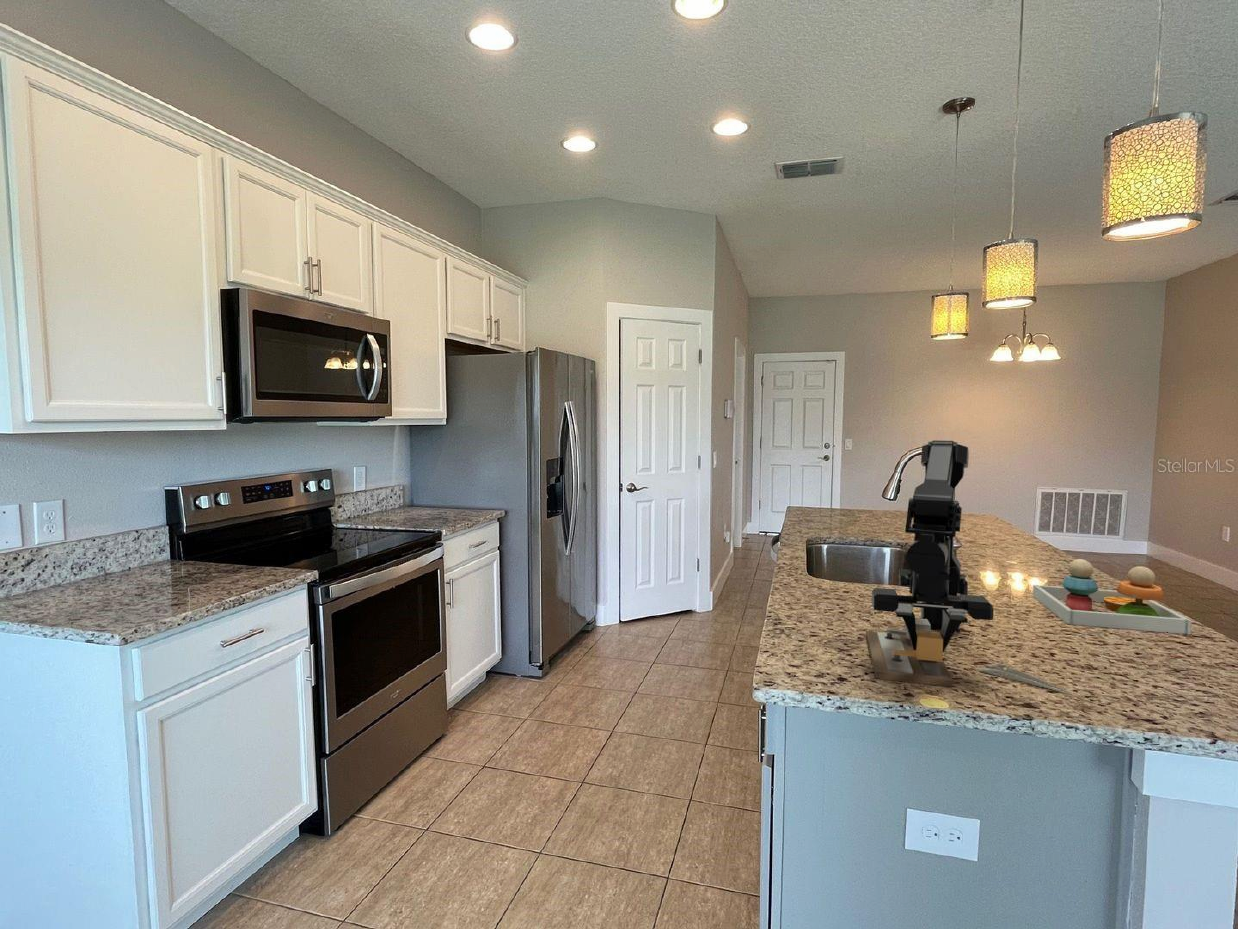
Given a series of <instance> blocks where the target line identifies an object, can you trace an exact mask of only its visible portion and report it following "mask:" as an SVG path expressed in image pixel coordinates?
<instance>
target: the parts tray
mask: <svg viewBox="0 0 1238 929" xmlns="http://www.w3.org/2000/svg"><path fill="white" fill-rule="evenodd" d="M1032 587H1033V589H1032V597H1033V598H1034V599H1035V600H1036V601H1038V602H1039V603H1040V604H1042V605H1043V606H1044V607H1045V608H1047V609H1048V610H1049V611H1051V612H1052V613H1053V614H1054V615H1056V616H1057V617H1058V619H1060V620H1061V621H1063V622H1064V623H1065V624H1067V625H1073V626H1074V625H1075V626H1087V627H1097V628H1110V629H1120V630H1121V629H1122V630H1132V631H1133V630H1134V631H1146V632H1157V633H1165V634H1166V633H1167V632H1168V633H1170V634H1178V635H1179V634H1181V635H1191V631H1192V620H1191V619H1189V618H1187V617H1185V616H1184V615H1181V614H1180V613H1179V612H1178V613H1177V612H1176V611H1174V610H1172V609H1170V608H1169V607H1167V606H1164V605H1163V604H1161V603H1158V602H1156V600H1143V602H1144V603H1146V604H1148V605H1149V606H1150V607H1152V608H1153V609H1154V610H1155V611H1156V612H1157V613H1158V614H1159V616H1160V617H1156V616H1143V615H1131V614H1118V613H1115V612H1106V611H1105V612H1104V611H1093V610H1092V611H1080V610H1071V609H1070V608H1069V607H1067V606H1066V604H1064V603H1063V602H1062V600H1063V601H1066V599H1067V595H1068V594H1069V593H1071V592H1069V591H1067V590H1066V589H1065V588H1064V587H1063V586H1056V585H1055V586H1053V585H1039V584H1038V585H1037V584H1033V586H1032ZM1089 597H1090V598H1092V603H1101V602H1104V599H1103V598H1104V597H1123V598H1130V599H1136V598H1133V597H1129V596H1125V595H1122V594H1120V593H1118V592H1117V590H1114V589H1113V590H1111V589H1099V588H1098V590H1097V591H1096V592H1095V593H1093V594H1090V595H1089ZM1060 600H1061V601H1060ZM1093 601H1095V602H1093Z"/></svg>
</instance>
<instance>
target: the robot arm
mask: <svg viewBox="0 0 1238 929" xmlns="http://www.w3.org/2000/svg"><path fill="white" fill-rule="evenodd" d="M969 452H970V451H969V447H968V446H965V445H962V444H959V443H958V442H957V441H954V440H939V439H938V440H935V439H934V440H931V441H928V443H927V444H923V445H921V454H920V455H921V458H920V464H921V466H922V467H925V468H924V470H925V471H924V473H925V477H924V481H923V482H922V483H921V484H919V485H917V486H916V487H915V488H914V492H913V496H912V497H909V498H908V506H907V512H906V521H905V530H904V531H905V532H904V533H907V534H914V536H913V542H912V544H910V546H909V548H908V550H907V551H906V562H907V566H908V567H909V568H910V569H909V568H908V569H906V568H899V569H898V586H899V587H904V588H909V592H908V593H909V594H910V595H904V594H898V593H897V591H896V588H895V589H893V588H882V587H875V588H873V589H872V590H871V600H870V601H871V604H872V605H871V606H872V607H873V610H875V611H877V612H890V613H893V612H894V613H895V616H896V617H897V618H902V619H903V621H904V625H905V624H906V627H907V630H908V633H909V637H910V640H911V643H912V647H913V649H914V650H916V645H917V638H916V623H915V618H916V615H915V613H914V611H913V610H914V609H913V608H920V610H921V614H920V616H921V617H920V619H927V620H928V621H929V623H930V625H931V630H935V631H936V630H937V631H940V635H941V637H942V638H943V653H944V652H945V651H946V648H947V647H948V644H949V643H950V640H951V639H952V637H953V636H954V634H955V633H956V632H957V633H959V632H961V628H960V626H961V625H962V624H967V623H968V622H969V619H968V618H967V616H966V615H967V614H968V615H969V616H970V617H971V619H973V620H984V621H993V620H994V610H995V609H994V606H993V604H992V603H991V602H990V601H989V600H988V599H987V598H986V597H985V596H983V595H974V594H969V591H968V590H969V588H968V587H969V586H968V585H969V582H968V581H967V580H966V578H965V574H962V564H961V562H960V560H959V559H958V558H957V556H956V555H955V553H954V545H955V541H954V540H955V537H956V535H957V532H961V524H962V512H963V509H962V506H960V502H959V501H958V500H956V487H957V486H958V484H959V483H960V482H961V481H962V479H963V478H964V474H965V469H966V468H967V469H968V468H969V460H970V458H969V456H970V453H969ZM912 522H913V523H912Z"/></svg>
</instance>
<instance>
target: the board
mask: <svg viewBox="0 0 1238 929" xmlns="http://www.w3.org/2000/svg"><path fill="white" fill-rule="evenodd" d="M915 623H916V630H922V631H932V629H931V625H930V623H929V621H928V620H927V619H921V618H920V617H919V618H917V617H915ZM865 638H866V642H867V647H868V652H869V655H870V661H871V664H872V668H873V672H874V677H875V679H879V680H886V681H887V680H889V681H895V682H896V681H897V682H906V683H912V684H921V685H922V684H923V685H930V686H939V687H947V688H948V687H949V688H954V679H953V677H952V675H951V674H950V671H949V670H948V667H947V666H946V663H945V662H944V660H943V659H942V662H938V661H928V660H919V659H917V658H916V657H913V656H903V655H900V659H895V658H894V649H895V650H905V651H914V649H913V647H912V643H911V640H910V637H909V633H908V630H907V627H906V624H905V623H904V629H895V628H886V632H881V631H880V632H879V631H870V630H869V631H868V630H866V631H865Z"/></svg>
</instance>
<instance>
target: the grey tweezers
mask: <svg viewBox="0 0 1238 929" xmlns="http://www.w3.org/2000/svg"><path fill="white" fill-rule="evenodd" d="M985 666H986V668H984V667H982V666H981V667H980V668H979V669H978V672H980V673H984V674H988V675H991V676H995V675H996V676H997V677H1000V678H1003V677H1004V678H1003V679H1009V680H1012V681H1017V682H1019V681H1022V682H1021V683H1023V682H1026V683H1025V684H1027V683H1029V684H1028V685H1031V684H1032V686H1035V687H1038V688H1039V687H1040V688H1042V687H1044V688H1043V689H1046V688H1048V689H1047V690H1050V689H1052V690H1051V691H1054V690H1056V691H1055V692H1057V691H1059V692H1058V693H1061V692H1063V691H1064V692H1063V693H1062V694H1065V693H1066V692H1068V694H1070V693H1073V694H1075V693H1074V692H1071V691H1068V690H1066V689H1065V688H1061V687H1059V686H1057V685H1054V684H1052V683H1049V682H1047V681H1044V680H1043V679H1040V678H1038V677H1036V676H1033V675H1031V674H1028V673H1026V672H1023V671H1022V670H1019V669H1017V668H1013V667H1010V666H1007V665H1004V664H1000V663H999V664H997V663H993V664H986V665H985ZM1016 675H1017V676H1016ZM1035 681H1036V682H1035ZM1053 687H1054V688H1053ZM1055 688H1057V689H1055ZM1058 689H1060V690H1058ZM1068 694H1067V695H1068ZM1073 694H1072V695H1073Z"/></svg>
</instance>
